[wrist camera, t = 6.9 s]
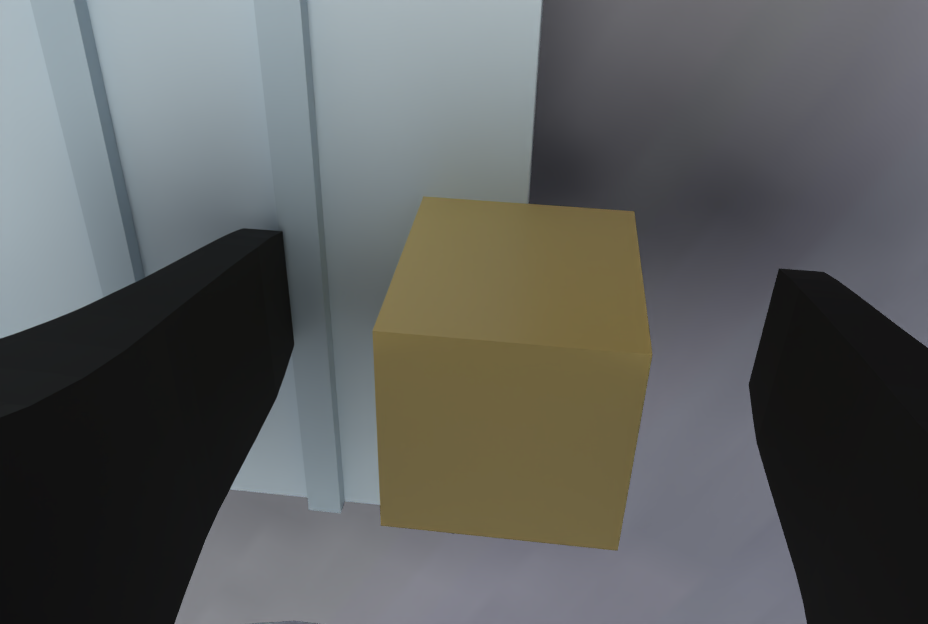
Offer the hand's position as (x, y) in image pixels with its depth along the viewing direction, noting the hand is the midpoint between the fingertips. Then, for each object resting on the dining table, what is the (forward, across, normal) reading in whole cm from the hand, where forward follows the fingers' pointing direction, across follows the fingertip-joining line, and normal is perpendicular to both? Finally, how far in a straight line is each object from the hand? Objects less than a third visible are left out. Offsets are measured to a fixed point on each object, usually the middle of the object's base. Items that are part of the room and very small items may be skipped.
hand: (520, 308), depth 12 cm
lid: (+1, +6, 0) cm, 6 cm away
